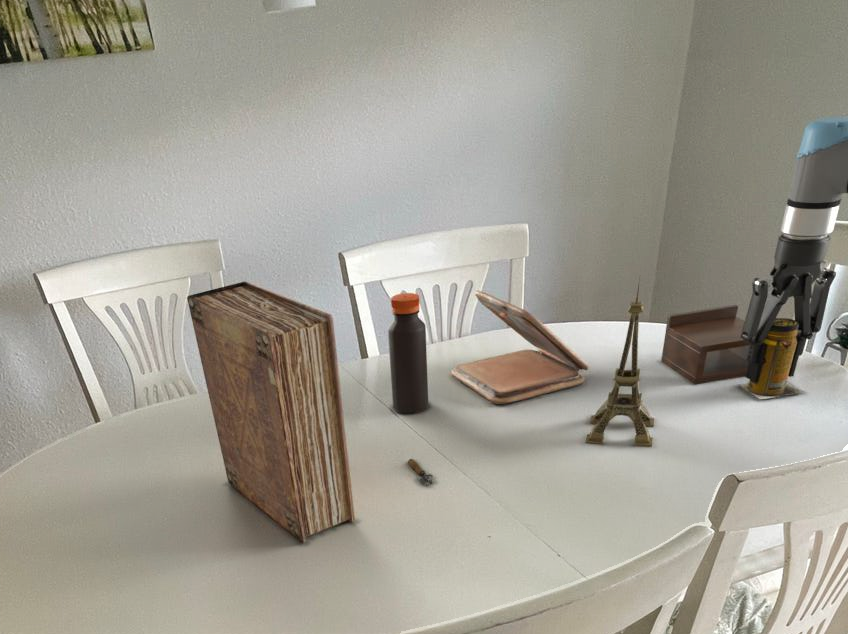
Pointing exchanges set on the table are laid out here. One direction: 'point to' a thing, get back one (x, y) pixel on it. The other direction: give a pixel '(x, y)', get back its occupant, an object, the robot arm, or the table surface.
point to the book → (276, 404)
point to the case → (522, 360)
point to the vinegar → (408, 355)
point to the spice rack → (706, 345)
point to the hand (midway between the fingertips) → (769, 376)
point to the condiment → (776, 361)
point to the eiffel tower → (625, 402)
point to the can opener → (420, 473)
